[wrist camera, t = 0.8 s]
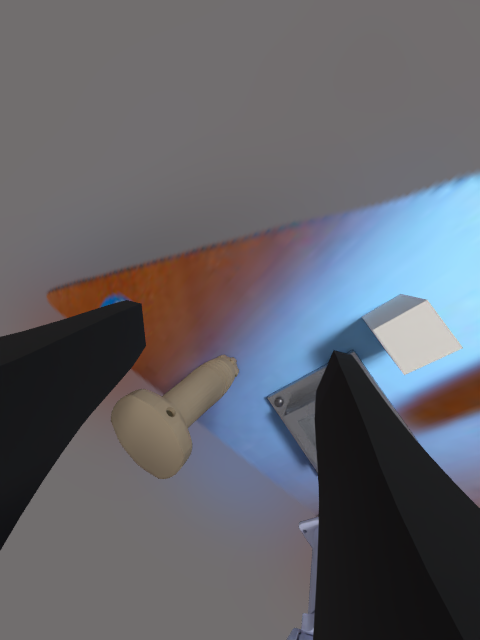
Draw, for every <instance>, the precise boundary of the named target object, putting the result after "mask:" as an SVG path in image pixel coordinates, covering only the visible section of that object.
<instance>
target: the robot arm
mask: <svg viewBox="0 0 480 640" xmlns="http://www.w3.org/2000/svg"><path fill="white" fill-rule="evenodd" d="M145 346H146V342H145V332H144V323H143V314H142V305H141V304H140V303H136V302H132V301H128V300H126V301H121V302H117V303H114V304H111V305H107V306H104V307H101V308H98V309H95V310H92V311H88V312H85V313H82V314H79V315H76V316H73V317H70V318H67V319H64V320H60V321H57V322H53V323H50V324H47V325H43V326H40V327H36V328H33V329H29V330H26V331H22V332H18V333H14V334H10V335H6V336H2V337H0V550H1V548H2V547H3V545H4V543H5V542H6V540H7V538H8V536H9V535H10V533H11V531H12V530H13V528H14V526H15V525H16V523H17V521H18V520H19V518H20V516H21V515H22V513H23V512H24V510H25V508H26V507H27V505H28V504H29V502H30V500H31V499H32V497H33V496H34V494H35V493H36V491H37V489H38V488H39V486H40V485H41V483H42V481H43V480H44V478H45V477H46V476H47V474H48V473H49V471H50V470H51V468H52V466H53V465H54V464H55V462H56V461H57V459H58V458H59V457H60V455H61V453H62V452H63V451H64V449H65V448H66V447H67V445H68V444H69V442H70V441H71V440H72V438H73V437H74V435H75V434H76V433H77V431H78V430H79V429H80V427H81V426H82V424H83V423H84V422H85V421H86V420H87V418H88V417H89V416H90V415H91V413H92V412H93V411H94V410H95V409H96V408H97V406H98V405H99V404H100V403H101V402H102V401H103V400H104V399H105V397H106V396H107V395H108V394H109V393H110V392H111V390H112V389H113V388H114V387H115V386H116V385H117V384H118V382H119V381H120V380H121V379H122V378H123V377H124V376H125V375H126V373H127V372H128V371H129V370H130V369H131V367H132V366H133V365H134V363H135V362H136V360H137V359H138V357H139V356H140V354H141V353H142V351H143V349H144V348H145ZM314 418H315V436H316V451H317V466H318V481H319V517H315V518H312V519H308V520H305V521H301V522H300V523H299V529H300V530H301V532H302V533H303V535H304V536H305V538H306V539H307V541H308V542H309V544H310V545H311V547H312V564H311V578H310V594H309V608H308V614H306V613H303V616H302V627H301V629H298V628H294V629H293V630H292V631H291V633H290V635H289V636H288V638H287V640H480V508H479V507H478V506H477V505H476V504H475V503H474V502H473V501H472V500H471V499H470V498H469V497H468V496H467V495H466V494H465V493H464V492H463V491H462V490H461V489H460V488H459V487H458V486H457V485H456V484H455V483H454V482H453V481H452V479H451V478H450V477H449V476H448V475H447V474H446V473H445V472H444V471H443V470H442V469H441V468H440V466H439V465H438V464H437V463H436V462H435V461H434V460H433V459H432V458H431V457H430V456H429V454H428V453H427V452H426V451H425V450H424V449H423V448H422V446H421V445H420V444H419V443H418V442H417V441H416V439H415V438H414V437H413V436H412V434H411V433H410V432H409V431H408V430H407V428H406V427H405V426H404V425H403V423H402V422H401V421H400V420H399V418H398V417H397V416H396V415H395V413H394V412H393V411H392V409H391V408H390V407H389V406H388V404H387V403H386V402H385V400H384V399H383V397H382V396H381V395H380V393H379V392H378V391H377V389H376V388H375V386H374V385H373V384H372V382H371V381H370V379H369V378H368V377H367V375H366V374H365V372H364V371H363V369H362V368H361V367H360V365H359V364H358V362H357V361H356V359H355V358H354V357H353V355H351V354H347V353H342V352H338V351H333V353H332V355H331V358H330V360H329V362H328V365H327V367H326V369H325V372H324V374H323V376H322V378H321V381H320V383H319V385H318V388H317V390H316V400H315V417H314ZM304 529H305V530H304Z"/></svg>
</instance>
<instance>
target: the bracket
mask: <svg viewBox="0 0 480 640" xmlns="http://www.w3.org/2000/svg"><path fill="white" fill-rule="evenodd" d="M347 354H351V355H353V357H354V358H355V359H356V361H357V362H358V364H359V365H360V367H361V368H362V369H363V371H364V372H365V374H366V375H367V377H368V378H369V379H370V381H371V382H372V384H373V385H374V386H375V388H376V389H377V391H378V392H379V393H380V395H381V396H382V397H383V399H384V400H385V402H386V403H387V404H388V406H389V407H390V408H391V409H392V411H393V412H394V413H395V415H396V416H397V417H398V418H399V420H400V421H401V422H402V423H403V425H404V426H405V427H406V428H407V430H408V431H409V432H410V433H411V434H412V432H411V431H410V429H409V428H408V426H407V425H406V424H405V422H404V421H403V419H402V418H401V417H400V415H399V414H398V412H397V411H396V409H395V408H394V407H393V405H392V404H391V402H390V401H389V400H388V398H387V397H386V395H385V394H384V392H383V391H382V390H381V388H380V387H379V385H378V384H377V383H376V381H375V380H374V378H373V377H372V375H371V374H370V373H369V371H368V370H367V368H366V367H365V366H364V364H363V363H362V361H361V360H360V358H359V357H358V356H357V354H356V353H355V351H354V350H352V351H350V352H348V353H347ZM327 365H328V364H326V365H324V366H322V367H320V368H318V369H316V370H315V371H313V372H311V373H309V374H307V375H305V376H303V377H302V378H300V379H298V380H296V381H294V382H292V383H290V384H289V385H287V386H285V387H283V388H281V389H279V390H277V391H276V392H274V393H272V394H270V395H269V396H268V400H269V401H270V403H271V404H272V406H273V407H274V409H275V410H276V412H277V413H278V414H279V416H280V417H281V419H282V420H283V422H284V423H285V425H286V426H287V428H288V429H289V431H290V432H291V434H292V435H293V437H294V438H295V440H296V441H297V443H298V444H299V446H300V447H301V449H302V450H303V452H304V453H305V455H306V456H307V458H308V459H309V461H310V462H311V464H312V465H313V467H314V468H315V470H316V471H317V473H318V466H317V451H316V436H315V418H314V417H315V400H316V390H317V388H318V385H319V383H320V381H321V378H322V376H323V374H324V372H325V369H326V367H327ZM412 436H413V437H414V438H415V436H414V435H413V434H412ZM415 439H416V438H415ZM416 441H417V439H416ZM417 442H418V441H417Z"/></svg>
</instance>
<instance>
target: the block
mask: <svg viewBox="0 0 480 640" xmlns="http://www.w3.org/2000/svg"><path fill="white" fill-rule="evenodd" d="M362 318H363V320H364V321H365V322H366V324H367V325H368V327H369V328H370V329H371V331H372V332H373V333H374V335H375V336H376V338H377V339H378V340H379V342H380V343H381V345H382V346H383V347H384V349H385V350H386V352H387V353H388V354H389V355H390V357H391V358H392V359H393V361H394V362H395V363H396V365H397V366H398V367H399V369H400V370H401V371H402V372H403V374H404V375H405V374H408V373H410V372H412V371H414V370H416V369H418V368H421V367H423V366H425V365H427V364H429V363H432V362H434V361H436V360H438V359H440V358H442V357H445V356H447V355H449V354H451V353H453V352H455V351H458V350H460V349H462V348H463V347H462V346H461V345H460V343H459V342H458V341H457V339H456V338H455V337H454V335H453V334H452V333H451V331H450V330H449V328H448V327H447V326H446V324H445V323H444V322H443V320H442V319H441V318H440V316H439V315H438V314H437V312H436V311H435V310H434V308H433V307H432V305H431V304H430V303H429V301H428V300H426V299H421V298H417V297H412V296H408V295H403V294H400V295H398V296H396V297H395V298H393V299H391V300H389V301H388V302H386V303H384V304H383V305H381V306H379V307H377V308H376V309H374V310H372V311H371V312H369V313H367V314H365V315H364V316H362Z"/></svg>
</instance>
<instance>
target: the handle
mask: <svg viewBox="0 0 480 640" xmlns="http://www.w3.org/2000/svg"><path fill="white" fill-rule="evenodd" d="M236 362H237V361H236V359H235V358H234V357H232V358H230V357H227V356H226V355H221V356H219V357H218V358H215V359H213V360H210V361H208V362H206V363H204V364H203V365H201V366H199V367H198V368H197V369H195V370H194V371H193V372H192V373H190V374H189V375H188V376H187V377H186V378H184V379H183V380H182V381H181V382H180V383H178V384H177V385H176V386H175V387H173V388H172V389H171V390H170V391H168V392H167V393H166V394H165V395H163V396H160V395H158V394H156V393H153V392H151V391H148V390H146V389H140V390H136V391H134V392H132V393H130V394H128V395H126V396H125V397H123V398H121V399H120V400H119V401H118V402H117V403H116V405H115V406H114V408H113V411H112V414H111V422H112V425H113V427H114V430H115V432H116V435H117V437H118V439H119V441H120V443H121V445H122V446H123V447H124V449H125V450H126V451H127V453H128V454H129V455H130V456H131V458H132V459H133V460H134V461H135V462H136V463H137V464H138V465H139V466H140V467H141V468H143V469H144V470H146V471H147V472H149V473H150V474H152V475H153V476H155V477H157V478H158V479H166V478H170V477H172V476H173V475H175V474H176V473H177V472H178V471H179V470H180V469H181V467H182V466H183V465H184V464H185V462H186V461H187V459H188V458H189V456H190V454H191V451H192V441H191V437H190V434H189V431H188V427H189V426H191V425H192V424H193V423H194V422H195V421H196V420H197V419H198V418H199V417H200V416H201V415H202V414H203V413H205V412H206V411H207V410H208V409H209V408H210V407H211V406H213V405H214V404H215V403H216V402H217V401H218V400H219V399H220V398H221V397H222V396H223V395H224V394H225V393H226V392H227V390H228V389H229V387H230V386H231V384H232V383H233V381H234V378H235V377H236V376H237V375H238V373H239V369H238V367H237V364H236Z"/></svg>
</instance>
